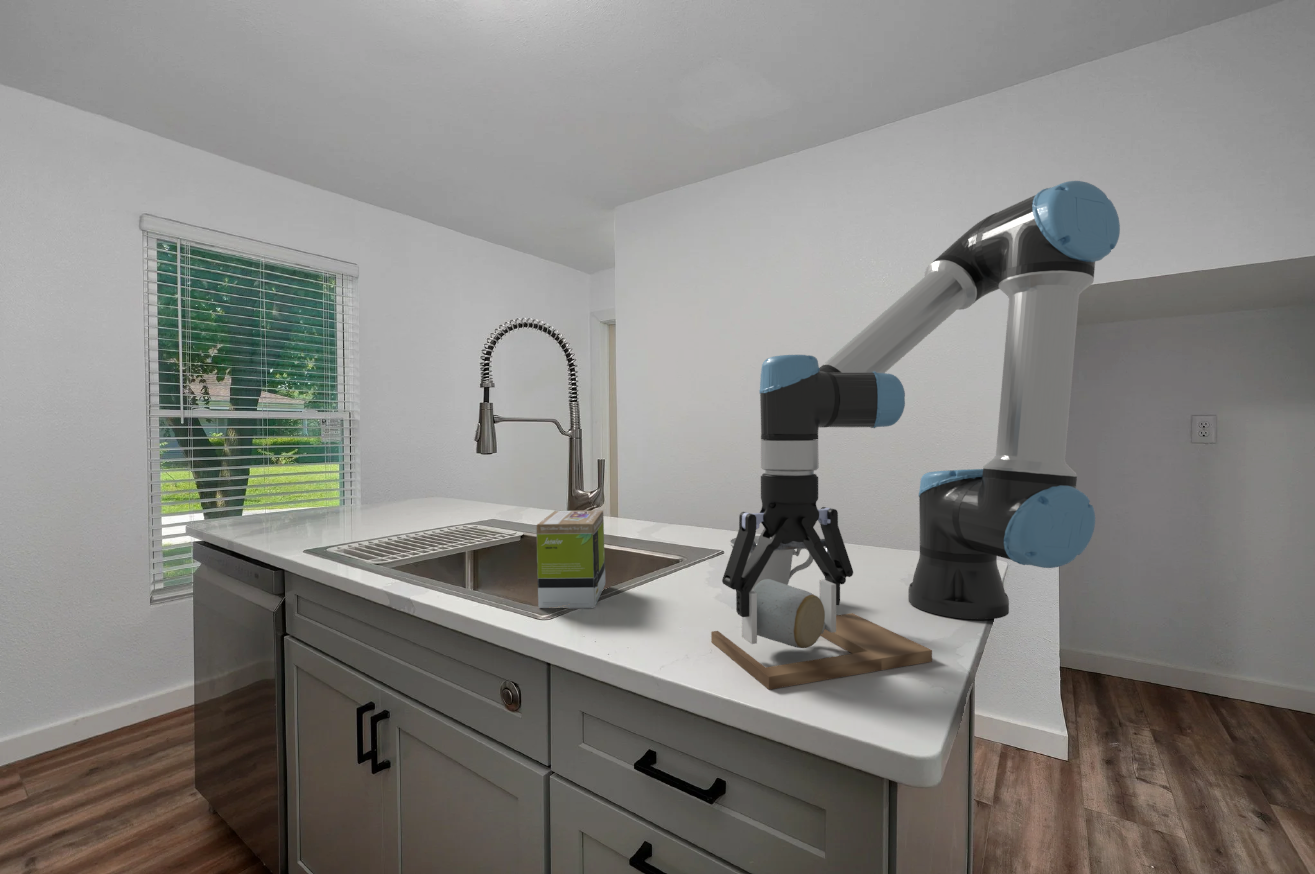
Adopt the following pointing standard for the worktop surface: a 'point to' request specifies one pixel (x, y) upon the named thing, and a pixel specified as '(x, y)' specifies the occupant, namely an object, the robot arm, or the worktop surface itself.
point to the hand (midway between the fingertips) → (789, 634)
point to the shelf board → (853, 634)
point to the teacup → (779, 564)
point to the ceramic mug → (788, 614)
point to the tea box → (570, 559)
